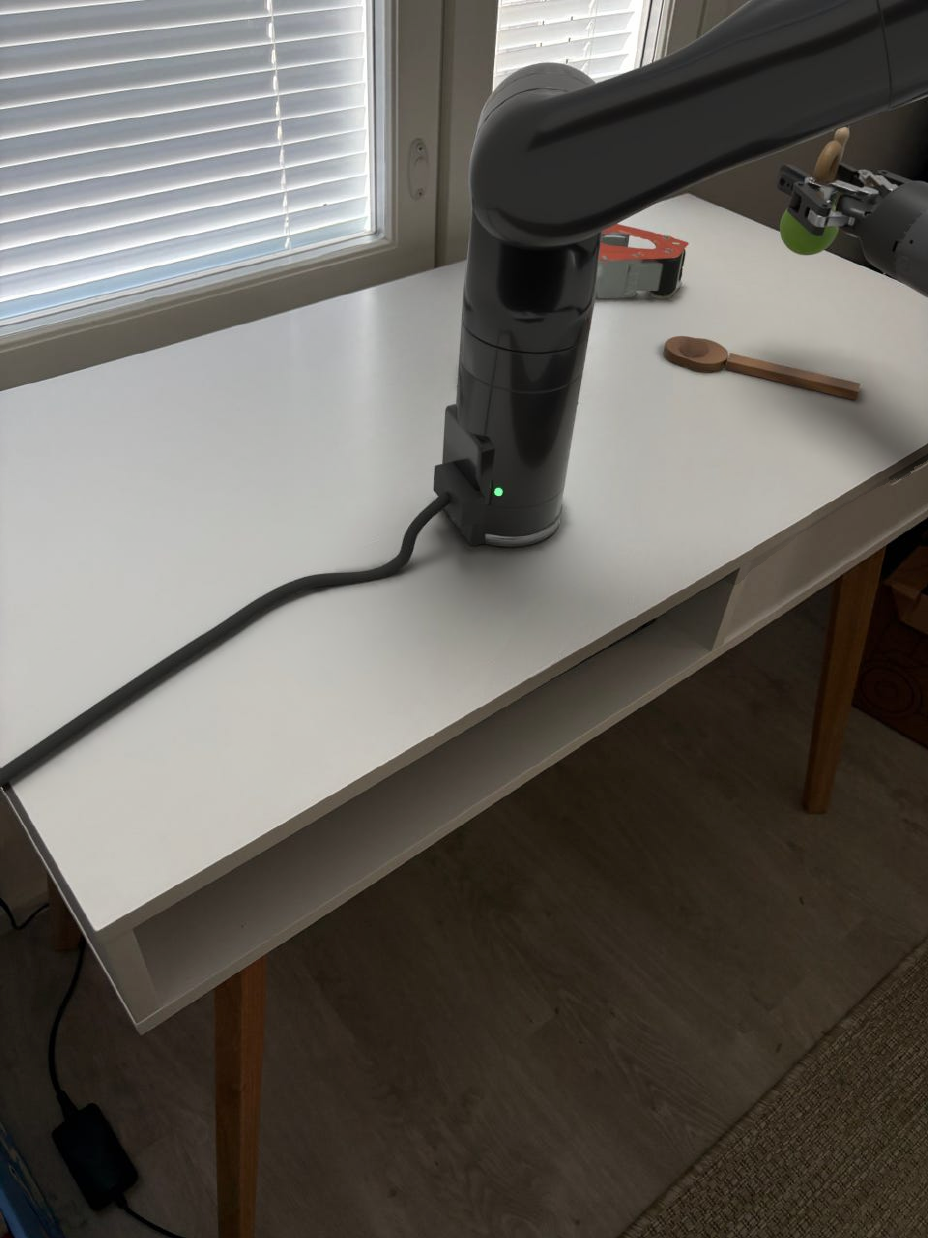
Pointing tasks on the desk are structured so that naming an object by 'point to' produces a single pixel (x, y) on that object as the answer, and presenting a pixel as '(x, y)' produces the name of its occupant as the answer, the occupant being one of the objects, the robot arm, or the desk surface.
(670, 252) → the tape dispenser
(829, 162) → the snail figurine
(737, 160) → the robot arm
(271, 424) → the desk surface
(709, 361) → the spoon
